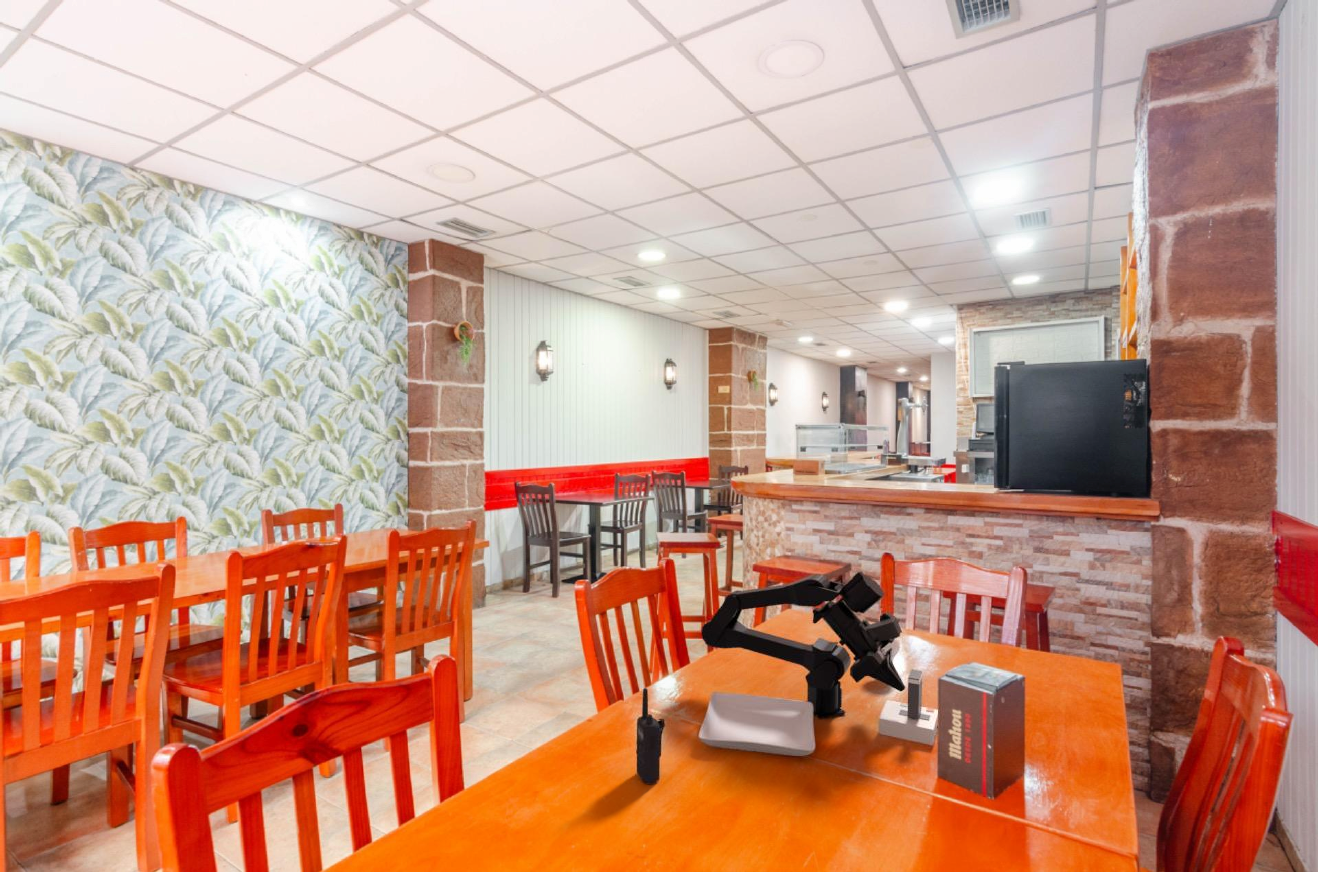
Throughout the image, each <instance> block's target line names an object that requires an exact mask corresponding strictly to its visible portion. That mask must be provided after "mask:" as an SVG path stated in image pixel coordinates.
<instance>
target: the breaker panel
mask: <svg viewBox="0 0 1318 872" xmlns="http://www.w3.org/2000/svg"><path fill="white" fill-rule="evenodd" d="M938 710H939V709H936V708H932V707H931V708H930V707H925V706H922V710H921V713H920V716H919V719H915V718H910V717H908V703H905V702H900V701H893V700H890V699H888V700H886V702H885V704H884V706H883V708H882V710H881V713H880V715H879V718H878V732H877V733H878V734H880V735H884V736H888V737H892V738H896V739H901V740H902V739H903V740H905V741H906V740H907V741H911V742H914V743H915V742H916V743H920V744H925V745H928V746H929V745H930V746H934V744H935V740H936V737H937V732H938V729H937V720H938Z"/></svg>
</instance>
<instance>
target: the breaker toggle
mask: <svg viewBox="0 0 1318 872" xmlns="http://www.w3.org/2000/svg"><path fill="white" fill-rule="evenodd" d="M907 686H908V687H907V704H908V717H910V718H915V719H919V716H920V713H921V710H922V707H923V706H922V705H923V703H922V701H923V697H922V696H923V671H922V670H919V669H918V670H917V669H911V670H910V672H909V674H908V676H907Z"/></svg>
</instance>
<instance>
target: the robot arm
mask: <svg viewBox="0 0 1318 872" xmlns="http://www.w3.org/2000/svg"><path fill="white" fill-rule="evenodd" d="M839 596H840V597H841V598H839V599H838V600H837V601H834V600H835V599H836V598H838V597H839ZM884 597H885V592H884V591H883V589H882V587H881V585H880V584H878V583H877V581H876V580H874V579H872V578H871V577H870V576H868V575H866V574H865V573H863V571H862V570H859V571H858V572H856V573H855V574H854V575H853V577H852V578H851V579H850V580H849V581H848V582H846V583H841V582H838V581H833V580H829V578H827V576H825V575H823V574H821V573H815V574H814V573H813V574H812V575H807V576H805V577H803V578H800V579H798V580H795V581H792V582H790V583H789V582H788V583H787V584H780V585H774V586H766V587H760V588H758V587H757V588H752V589H746V590H734V591H732V592H730V593H729V594H728V595H727V596H726V597H725V599H724V601H723V603H722V604H721V605H720V607H719V608H718V609H717V611H716V612H715V614H714V615H713V616H712V618H711V619H710V620H708V621H707V622H706V623H704V624H703V626H702V628H701V637H702V638H701V639H702V640H703V641H704V644H705V645H706V646H707V647H710V648H716V649H743V650H748V651H750V652H754V653H756V654H761V655H764V656H768V657H771V658H775V659H777V660H782V661H785V662H789V663H791V664H795V665H799V666H801V667H804V669H805V670H807V671H808V673H806V675H805V677H804V678H805V681H806V684H807V689H806V690H807V694H806V697H807V702H811V703H812V704H813V708H814V711H813V716H816V717H817V718H819V719H820V720H821V719H827V718H833V717H837V716H841V715H845V714H846V711H845V710H844V709H843V708H842V707H843V706H842V705H843V703H842V702H843V700H842V697H843V694H842V693H843V689H842V687H841V684H842V683H841V681H840V680H841V679H842V678H843V677H844V675H845V674H846V672H847V671H848V669H849V675H850V677H851V678H852V679H853V681H855V682H856V683H859V682H860V681H862V680H863V679H865V678H866V677H870V678H872V679H874V680H876V681H879V682H881V683H883V684H884V685H887V686H889V687H890V688H893V689H894V690H897V691H898V692H903V691H904V690H906V685H905V684H904V681H903V680H902V678H901V677H900V674H899V672H898V671H897V669H896V667H895V665H894V662H893V663H892V660H891V658H892V648H891V649H889V650H888V651H887V652H886V651H885V650H884V649H883V648H884V647H885V646H886V645H887V644H889V643H892V642H893V641H894V639H895V638H900V636H901V633H903V630H902V628H901V626H900V624H899V623H900V620H899V619H898V618H897V617H896V616H895V615H894V616H893V615H892V614H891V613H890V612H889V611H887V612H884V613H881V614H880V616H879V620H877V621H876V622H873V623H870V622H869V621H868V620H867V619H862V620H861V619H860V618H859V617H858V616H857V614H858V613H860V614H865V613H866V612H867V611H869V610H870V609H871V608H872V607H873V606H874V605H876V604H877V603H878V602H880V601H881V600H882V599H883V598H884ZM824 602H826V604H824V605H823V606H822V607H819V606H821V605H822V604H823V603H824ZM781 605H782V606H783V605H794V606H798V607H809V608H811V607H814V609H812V614H813V617H812V623H813V624H817V623H819V621H820V620H823V621H824V622H825V623H826V624H827V626H828V627H829V628H830V629H831V630H832V632H834V633H835V635H836V636H837V637H838V638H839V641H829V640H828V639H825V638H823V637H822V638H821V637H819V638H818V639H817V640H816V641H815V642H814V643H813V644H807V643H803V642H799V641H796V640H792V639H788V638H786V637H781V636H777V635H773V634H770V633H767V632H764V631H763V632H762V631H759V630H755V629H751V628H748V627H746V626H745V625H744V624H743V623H742V622H740V621H739V618H740V617H741V614H742V611H743V610H751V609H757V608H765V607H773V606H781ZM818 607H819V608H818ZM855 613H856V614H855ZM838 644H839V645H838ZM844 645H845V646H846V647H844ZM847 648H848V650H849V651H850V652H851V653H852V655H854V657H853V658H851V656H850V654H849V652H848V650H847ZM882 649H883V650H882ZM851 659H853V661H854V662H853V663H852V665H851V662H852V660H851Z"/></svg>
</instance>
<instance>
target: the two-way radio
mask: <svg viewBox="0 0 1318 872" xmlns="http://www.w3.org/2000/svg"><path fill="white" fill-rule="evenodd" d="M648 690H649V689H648V688H646V687H645V688H643V689H642V706H641V708H642V709H641V710H642V711H641V716H639V717H638V718H637V719H636V742H635V743H636V749H635V750H636V752H635V753H636V774H637V775H638V777H639V778H640V780H641V781H642V782H643V784H645V785H652V784H656V783H657V782H658V781H659V780H660V768H661V767H660V766H661V765H660V763H661V762H660V760H661V759H660V758H661V757H662V739H663V732H664V728H665V727H666V721H665V720H666V719H664V718H659V719H658V720H657V719H656V718H655V717H653V715H652V714H650V713H649V695H648V693H649V692H648Z"/></svg>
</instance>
